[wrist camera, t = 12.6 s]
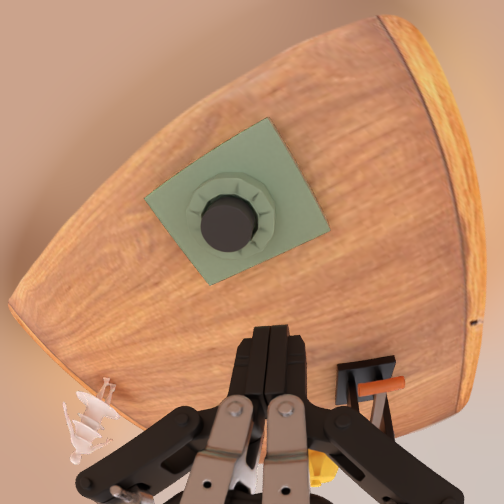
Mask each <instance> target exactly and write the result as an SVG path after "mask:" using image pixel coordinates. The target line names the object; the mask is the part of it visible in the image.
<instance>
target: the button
mask: <svg viewBox="0 0 504 504" xmlns="http://www.w3.org/2000/svg"><path fill="white" fill-rule="evenodd" d="M254 221H255V220H254V215H253V212H252V210H251V209H250V207H249V206H248V205H247V204H246V203H245V202H243V201H242V200H240V199H237V198H234V197H224V198H220V199H218V200H216V201H214V202H213V203H212V204H211V205H210V207H209V208H208V210H207V211H206V212H205V214H204V215H203V217H202V220H201V225H200V227H201V233H202V236H203V238H204V239H205V241H206V242H207V243H208V244H209V245H210V246H211V247H212V248H214V249H216V250H218V251H221V252H235V251H238V250H240V249H242V248H243V247H245V246H246V245H247V244H248V242H249V241H250V239H251V236H252V232H253V228H254Z"/></svg>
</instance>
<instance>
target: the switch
mask: <svg viewBox="0 0 504 504" xmlns="http://www.w3.org/2000/svg"><path fill="white" fill-rule="evenodd" d="M404 387H405V379H404V377H403V376H399V377H394V378H389V379H384V380H379V381H373V382H367V383H361V384H358V396H359V397H362V396H368V395H374V400H373V407H372V413H371V418H370V422H371V423H372V424H374V425H375V426H376V427H377V428H379V429H380V422H381V418H382V413H383V408H384V403H385V398H386V393H387V392H390V391H394V390H399V389H403V388H404Z"/></svg>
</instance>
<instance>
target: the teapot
mask: <svg viewBox="0 0 504 504" xmlns="http://www.w3.org/2000/svg"><path fill="white" fill-rule="evenodd" d="M308 455H309V472H310V486H311V487H319V486H321V483H326V482H330V481H332V480H333V479H334V477H335V475H336V473H337V471H338V468H339V467H338V466H337V465H336V464H335V463H334V462H333V461H332V460H331V459H330V458H329V457H328V456H327V455H326V454H325V453H323V452H319V451H314V450H310V449H308Z"/></svg>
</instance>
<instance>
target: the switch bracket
mask: <svg viewBox="0 0 504 504" xmlns="http://www.w3.org/2000/svg"><path fill="white" fill-rule="evenodd" d="M395 363H396V360H395V357H394V355H393V356H388V357H383V358H377V359H371V360H365V361H358V362H351V363H344V364H337V380H336V395H335V404H336V405H342V404H347V406H348V407H352V408H354V409H355V410H357V411H358V412H359V405H358V402H363V401H369V400H374V395H368V396H362V397H359V396H358V384H361V383H367V382H373V381H379V380H384V379H389V378H391V376H392V373H393V370H394V367H395ZM380 430H381V431H382V432H383V433H385V434H386V435H387V436H388V437H390V438H391V439H392V440H393V441H395V434H394V431H393V426H392V420H391V414H390V409H389V404H388V399H387V394H386V398H385V403H384V408H383V413H382V418H381V422H380Z"/></svg>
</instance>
